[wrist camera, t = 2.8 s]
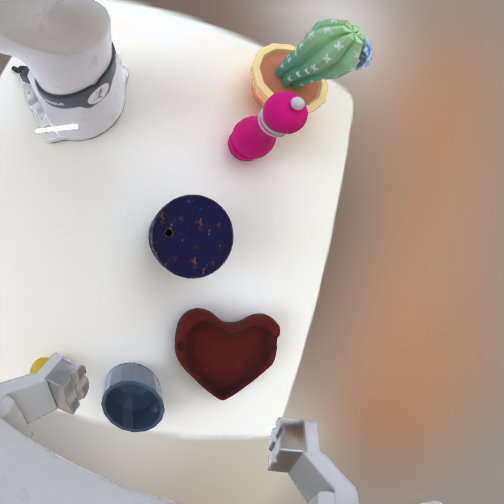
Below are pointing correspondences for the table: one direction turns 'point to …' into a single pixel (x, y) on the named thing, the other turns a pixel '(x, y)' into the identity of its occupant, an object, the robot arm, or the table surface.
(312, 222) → the table surface
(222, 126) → the table surface
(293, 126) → the pepper mill
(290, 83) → the potted cactus
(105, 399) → the cup
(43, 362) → the lemon
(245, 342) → the ashtray
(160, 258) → the dark blue barrel
